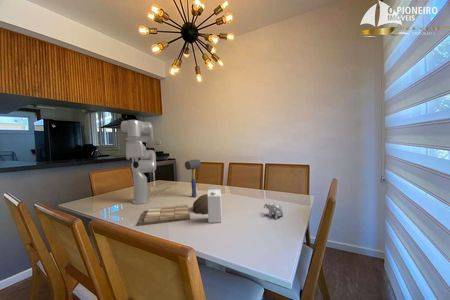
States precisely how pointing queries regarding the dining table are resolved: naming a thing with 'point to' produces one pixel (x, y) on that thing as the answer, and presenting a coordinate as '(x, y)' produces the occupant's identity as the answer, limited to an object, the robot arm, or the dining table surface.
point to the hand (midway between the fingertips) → (136, 167)
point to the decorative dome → (201, 205)
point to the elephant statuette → (274, 209)
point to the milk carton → (214, 205)
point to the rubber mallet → (193, 173)
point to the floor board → (166, 215)
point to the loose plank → (154, 211)
